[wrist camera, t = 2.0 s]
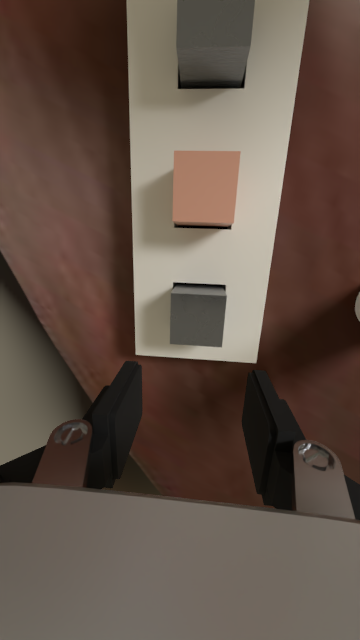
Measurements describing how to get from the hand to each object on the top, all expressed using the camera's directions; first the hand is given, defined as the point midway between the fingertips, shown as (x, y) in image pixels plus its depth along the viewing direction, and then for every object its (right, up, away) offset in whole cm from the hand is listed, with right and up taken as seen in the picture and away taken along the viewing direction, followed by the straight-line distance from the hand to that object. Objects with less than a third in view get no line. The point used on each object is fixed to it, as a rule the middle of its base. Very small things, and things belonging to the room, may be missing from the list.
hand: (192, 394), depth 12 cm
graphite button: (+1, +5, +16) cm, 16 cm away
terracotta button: (+2, +15, +12) cm, 20 cm away
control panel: (+2, +16, +15) cm, 22 cm away
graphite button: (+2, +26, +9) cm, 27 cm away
